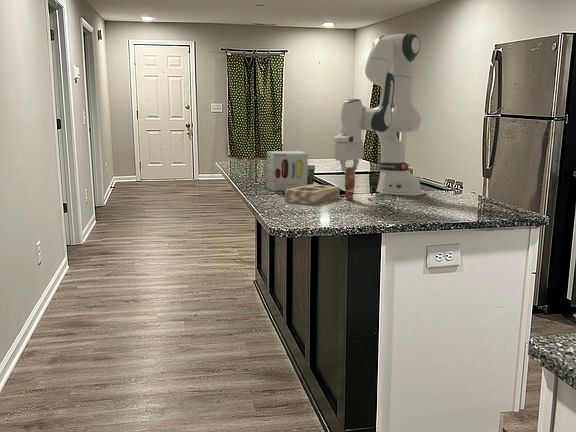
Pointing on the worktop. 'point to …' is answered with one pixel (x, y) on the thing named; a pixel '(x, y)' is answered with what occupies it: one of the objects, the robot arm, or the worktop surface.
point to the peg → (349, 182)
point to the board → (312, 194)
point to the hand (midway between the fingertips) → (349, 170)
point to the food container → (310, 174)
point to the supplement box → (286, 169)
